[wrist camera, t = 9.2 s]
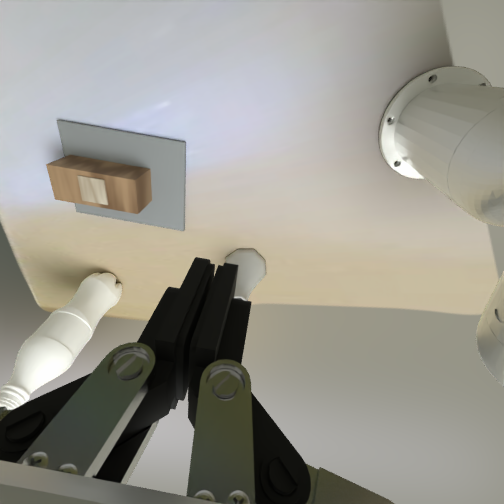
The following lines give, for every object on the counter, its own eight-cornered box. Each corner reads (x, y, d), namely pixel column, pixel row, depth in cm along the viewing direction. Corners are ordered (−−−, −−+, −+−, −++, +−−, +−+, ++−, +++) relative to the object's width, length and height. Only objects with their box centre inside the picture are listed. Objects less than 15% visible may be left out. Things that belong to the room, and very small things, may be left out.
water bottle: (133, 291, 57) (42, 423, 36) (105, 299, 59) (4, 428, 38) (111, 263, 53) (-4, 389, 33) (82, 273, 56) (-43, 397, 35)
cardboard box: (134, 180, 38) (45, 164, 38) (137, 214, 40) (54, 199, 41) (150, 168, 42) (70, 154, 42) (152, 200, 45) (76, 187, 45)
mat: (185, 142, 40) (184, 143, 39) (184, 229, 48) (183, 231, 47) (59, 119, 40) (56, 120, 40) (78, 210, 48) (76, 211, 47)
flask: (236, 285, 53) (226, 326, 45) (218, 254, 50) (204, 292, 41) (272, 275, 51) (269, 316, 43) (257, 242, 48) (250, 279, 39)
